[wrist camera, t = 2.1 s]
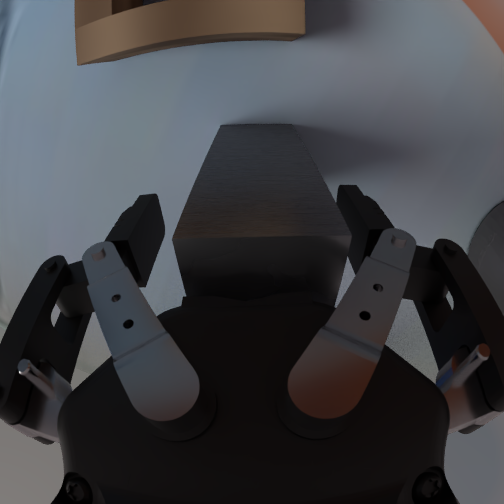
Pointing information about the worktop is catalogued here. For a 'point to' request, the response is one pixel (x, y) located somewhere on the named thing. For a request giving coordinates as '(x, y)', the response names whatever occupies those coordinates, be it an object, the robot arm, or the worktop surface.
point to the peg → (261, 220)
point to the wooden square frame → (178, 25)
